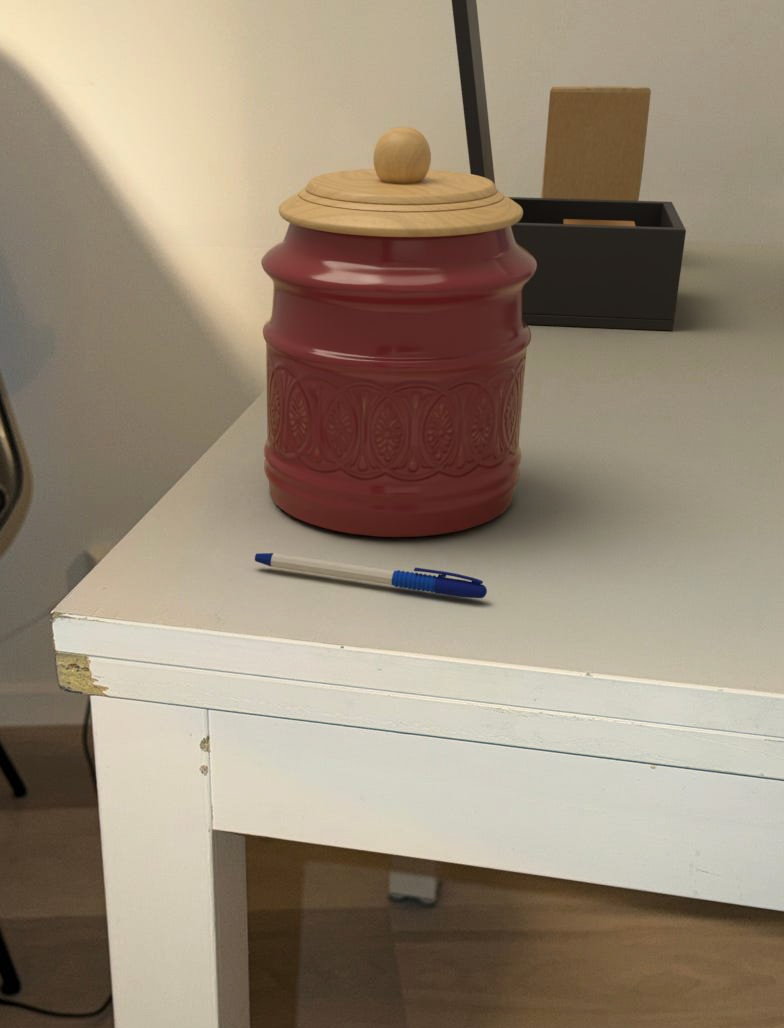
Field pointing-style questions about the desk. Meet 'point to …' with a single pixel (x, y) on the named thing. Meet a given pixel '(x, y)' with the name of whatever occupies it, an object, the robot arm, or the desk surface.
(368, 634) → the desk surface
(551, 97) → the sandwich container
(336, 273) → the kitchen canister
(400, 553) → the desk surface
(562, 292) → the dark grey storage bin
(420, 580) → the ballpoint pen
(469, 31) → the black box cover
